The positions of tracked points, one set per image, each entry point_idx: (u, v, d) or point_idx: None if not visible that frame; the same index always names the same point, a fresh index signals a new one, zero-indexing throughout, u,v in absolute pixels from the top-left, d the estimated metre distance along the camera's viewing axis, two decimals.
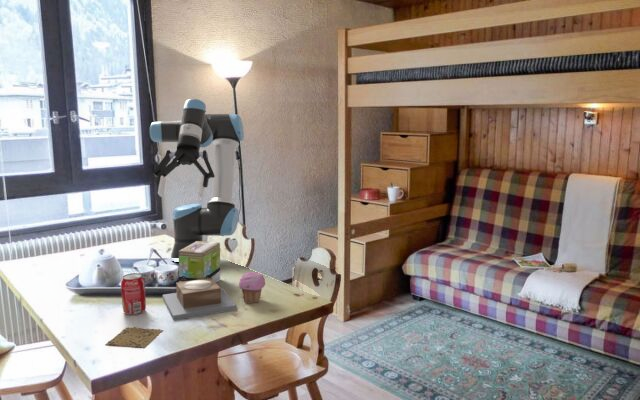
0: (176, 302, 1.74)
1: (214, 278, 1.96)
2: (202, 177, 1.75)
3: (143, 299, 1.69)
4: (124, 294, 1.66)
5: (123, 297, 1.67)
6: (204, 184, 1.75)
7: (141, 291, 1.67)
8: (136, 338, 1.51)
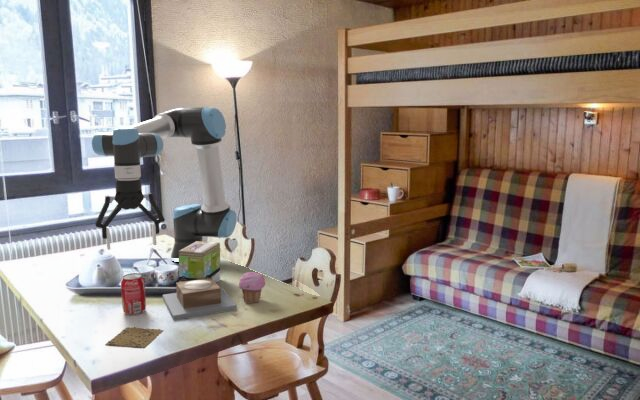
0: (176, 302, 1.74)
1: (214, 277, 1.96)
2: (154, 226, 1.67)
3: (143, 299, 1.69)
4: (124, 294, 1.66)
5: (123, 297, 1.67)
6: (157, 232, 1.69)
7: (141, 291, 1.67)
8: (136, 338, 1.51)
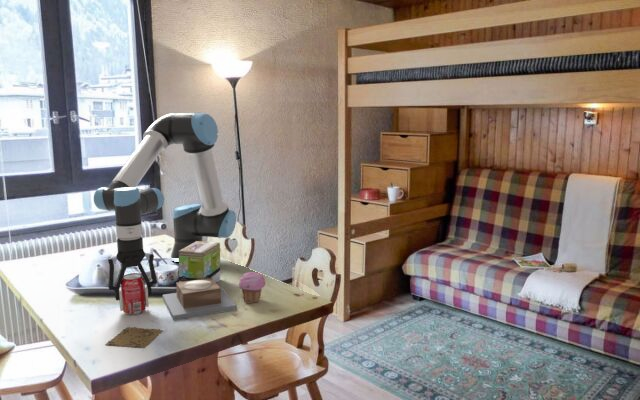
0: (176, 302, 1.74)
1: (214, 278, 1.96)
2: (146, 289, 1.69)
3: (143, 299, 1.69)
4: (124, 294, 1.66)
5: (123, 297, 1.67)
6: (149, 294, 1.71)
7: (141, 291, 1.67)
8: (136, 338, 1.51)
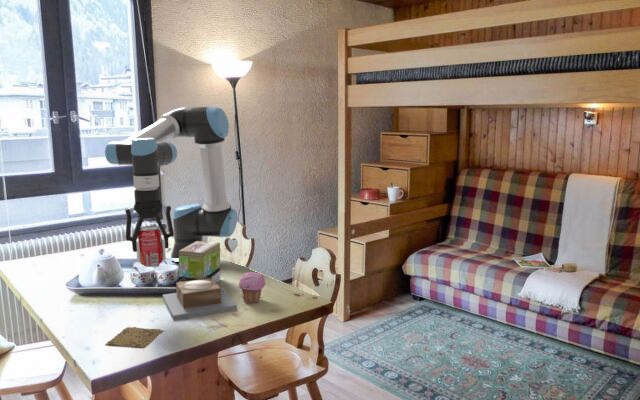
0: (176, 302, 1.74)
1: (214, 278, 1.96)
2: (163, 241, 1.69)
3: (160, 251, 1.68)
4: (141, 245, 1.66)
5: (140, 248, 1.66)
6: (166, 247, 1.70)
7: (158, 243, 1.67)
8: (136, 338, 1.51)
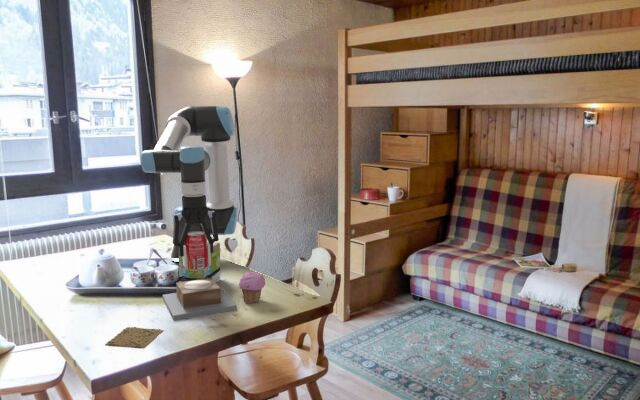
0: (176, 302, 1.74)
1: (214, 278, 1.96)
2: (209, 246, 1.74)
3: (206, 256, 1.73)
4: (188, 250, 1.70)
5: (187, 253, 1.71)
6: (211, 251, 1.75)
7: (204, 248, 1.72)
8: (136, 338, 1.51)
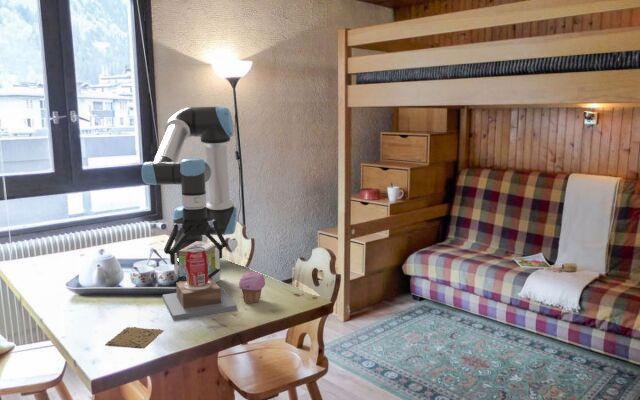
0: (176, 302, 1.74)
1: (214, 278, 1.96)
2: (218, 251, 1.75)
3: (206, 272, 1.74)
4: (189, 266, 1.71)
5: (188, 269, 1.72)
6: (220, 257, 1.77)
7: (205, 264, 1.73)
8: (136, 338, 1.51)
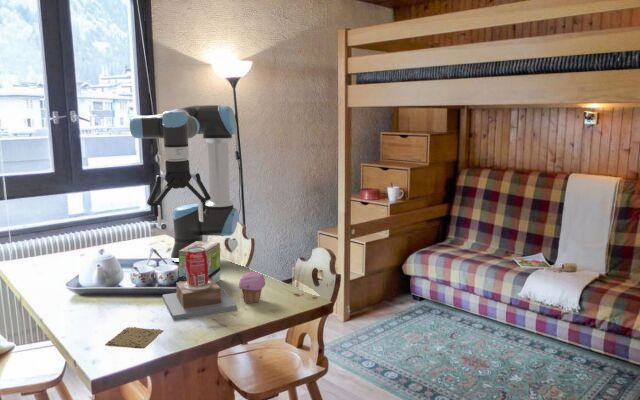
0: (176, 302, 1.74)
1: (214, 278, 1.96)
2: (201, 204, 1.77)
3: (206, 272, 1.74)
4: (189, 266, 1.71)
5: (188, 269, 1.72)
6: (203, 210, 1.79)
7: (205, 264, 1.73)
8: (136, 338, 1.51)
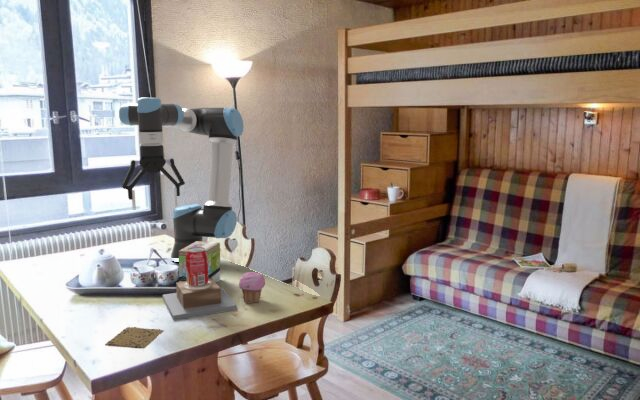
0: (176, 302, 1.74)
1: (214, 278, 1.96)
2: (175, 189, 1.82)
3: (206, 272, 1.74)
4: (189, 266, 1.71)
5: (188, 269, 1.72)
6: (177, 195, 1.83)
7: (205, 264, 1.73)
8: (136, 338, 1.51)
